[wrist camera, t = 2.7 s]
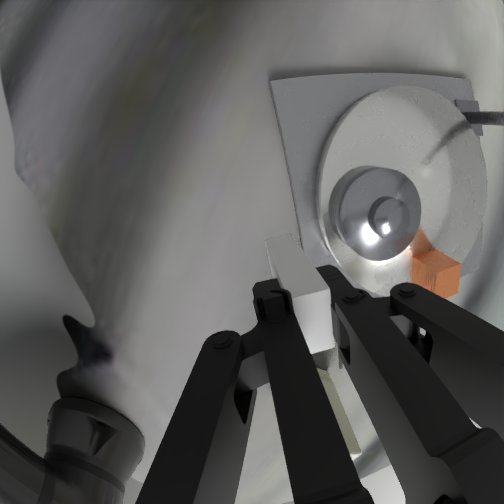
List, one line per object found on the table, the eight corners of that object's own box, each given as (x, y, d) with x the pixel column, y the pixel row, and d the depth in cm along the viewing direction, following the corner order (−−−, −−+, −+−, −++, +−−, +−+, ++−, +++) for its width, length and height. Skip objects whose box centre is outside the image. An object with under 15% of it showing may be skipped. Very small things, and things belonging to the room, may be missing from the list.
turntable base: (312, 323, 29) (315, 329, 28) (268, 82, 21) (270, 79, 20) (475, 267, 30) (480, 270, 29) (465, 80, 22) (471, 79, 21)
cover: (333, 256, 24) (353, 277, 20) (321, 172, 22) (343, 178, 18) (403, 238, 24) (430, 254, 20) (397, 160, 22) (427, 164, 18)
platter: (329, 314, 28) (350, 347, 22) (294, 94, 21) (314, 79, 16) (476, 263, 28) (505, 281, 23) (468, 91, 21) (503, 88, 16)
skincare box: (299, 360, 31) (331, 449, 19) (329, 370, 32) (365, 451, 21) (269, 397, 33) (287, 482, 21) (298, 404, 34) (322, 484, 22)
